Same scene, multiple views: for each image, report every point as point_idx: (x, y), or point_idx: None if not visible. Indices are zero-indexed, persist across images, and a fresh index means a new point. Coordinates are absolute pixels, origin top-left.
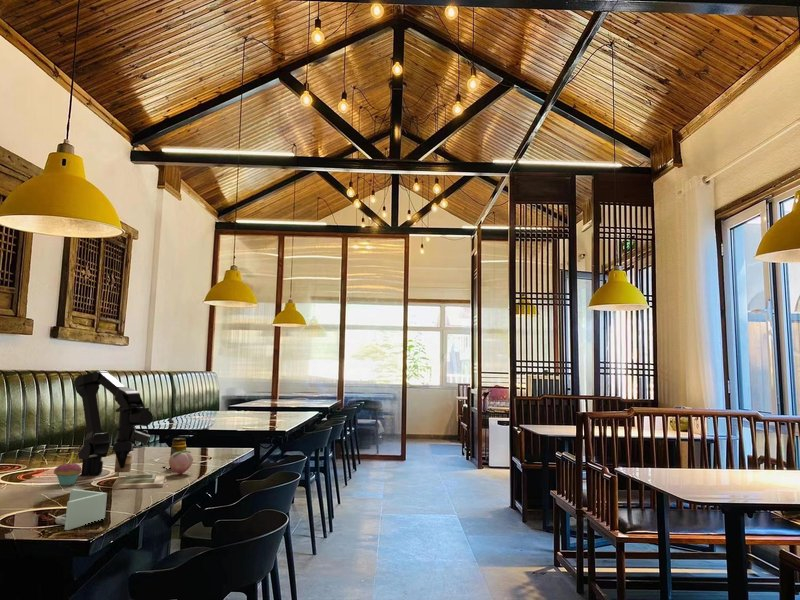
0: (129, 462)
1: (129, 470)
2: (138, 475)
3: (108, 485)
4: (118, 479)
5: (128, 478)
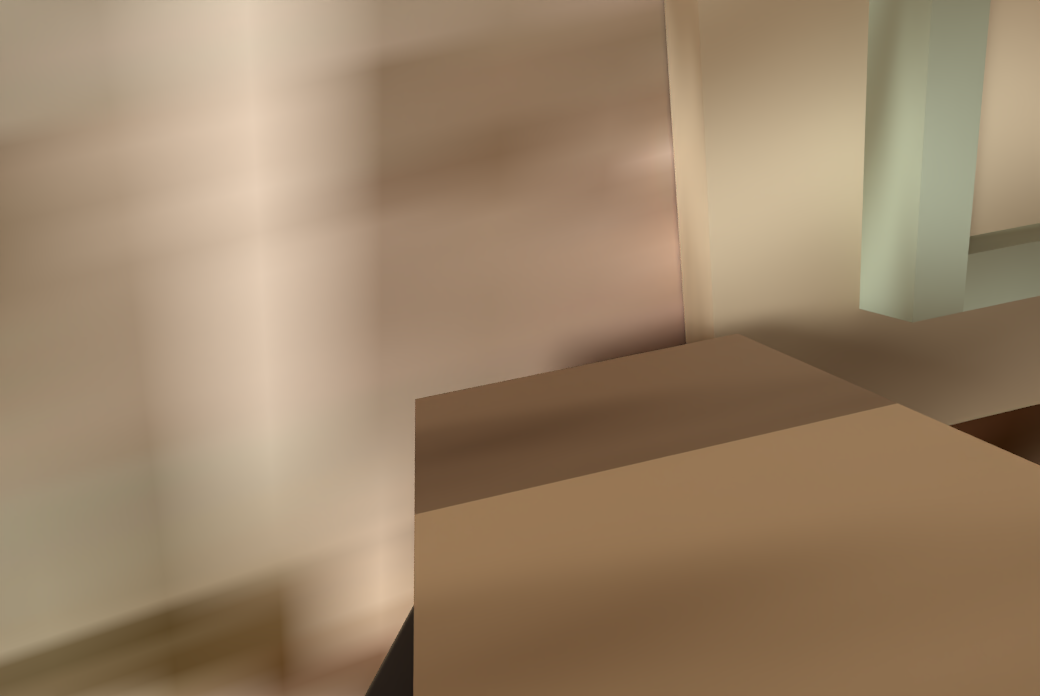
0: (944, 442)
1: (756, 344)
2: (970, 57)
3: (1021, 448)
4: (936, 401)
5: (1031, 230)
